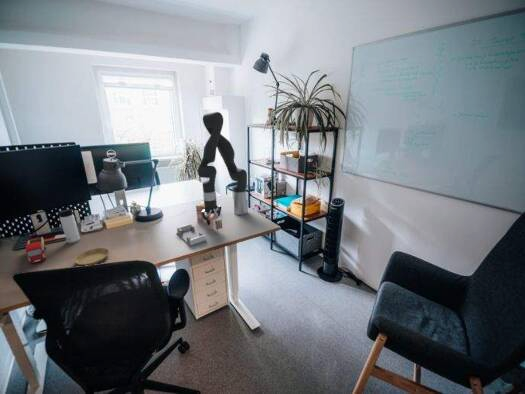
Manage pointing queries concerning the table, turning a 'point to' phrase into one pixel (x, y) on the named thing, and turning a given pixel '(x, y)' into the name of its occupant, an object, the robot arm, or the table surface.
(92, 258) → the plant saucer
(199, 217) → the stack of blocks
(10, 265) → the table surface
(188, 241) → the cradle jig
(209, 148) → the robot arm
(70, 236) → the travel mug
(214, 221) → the peach lotion tube
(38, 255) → the toy truck
